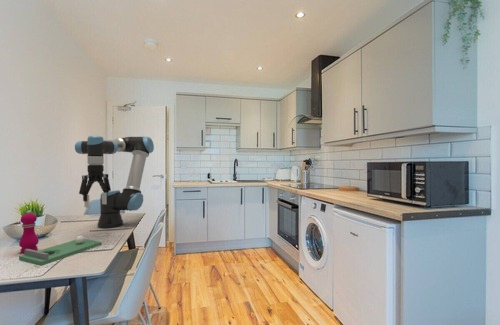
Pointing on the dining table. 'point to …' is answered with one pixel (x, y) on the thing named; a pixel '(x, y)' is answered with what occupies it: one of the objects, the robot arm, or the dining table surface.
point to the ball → (79, 239)
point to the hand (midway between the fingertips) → (95, 205)
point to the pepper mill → (28, 232)
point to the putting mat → (57, 252)
